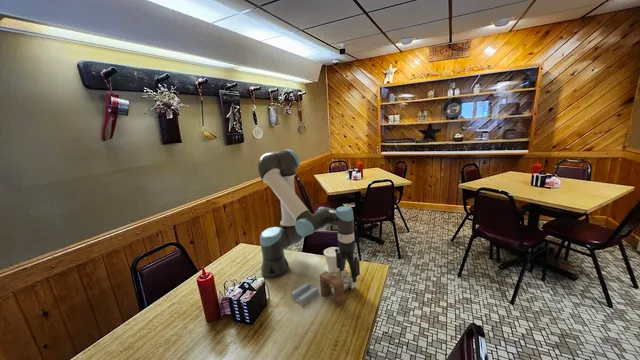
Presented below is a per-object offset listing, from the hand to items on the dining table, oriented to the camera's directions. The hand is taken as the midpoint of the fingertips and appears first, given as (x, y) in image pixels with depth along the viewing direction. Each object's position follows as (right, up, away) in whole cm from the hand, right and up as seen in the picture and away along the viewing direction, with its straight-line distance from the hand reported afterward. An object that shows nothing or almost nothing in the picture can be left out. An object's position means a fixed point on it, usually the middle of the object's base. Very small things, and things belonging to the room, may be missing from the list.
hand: (348, 284), depth 121 cm
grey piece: (-3, +1, -3) cm, 5 cm away
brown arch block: (-8, -4, -7) cm, 11 cm away
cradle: (-21, -4, -4) cm, 21 cm away
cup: (-6, +2, +15) cm, 16 cm away
